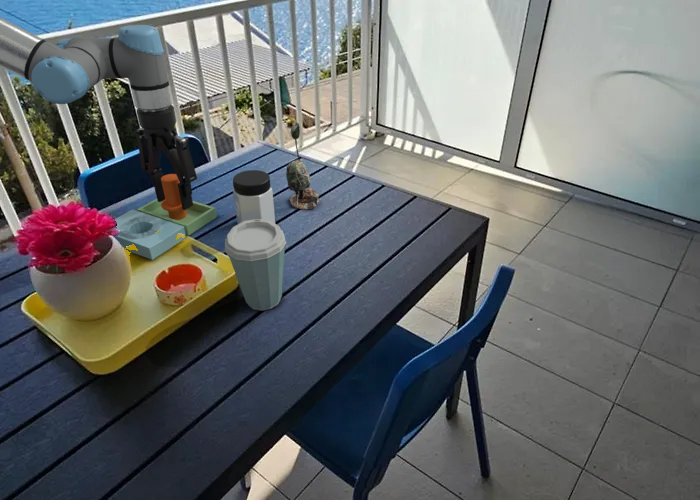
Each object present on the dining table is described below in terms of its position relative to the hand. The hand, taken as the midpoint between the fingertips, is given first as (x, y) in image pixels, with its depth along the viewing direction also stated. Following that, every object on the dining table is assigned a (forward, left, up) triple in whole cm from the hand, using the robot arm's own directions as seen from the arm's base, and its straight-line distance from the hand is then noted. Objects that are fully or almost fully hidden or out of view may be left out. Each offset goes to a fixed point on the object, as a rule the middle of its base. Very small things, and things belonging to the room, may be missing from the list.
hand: (175, 203), depth 117 cm
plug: (0, 0, -3) cm, 3 cm away
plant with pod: (+22, +21, -4) cm, 31 cm away
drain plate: (0, -11, -4) cm, 11 cm away
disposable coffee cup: (+36, -15, -4) cm, 39 cm away
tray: (0, 0, -4) cm, 4 cm away
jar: (+18, +7, -4) cm, 20 cm away
